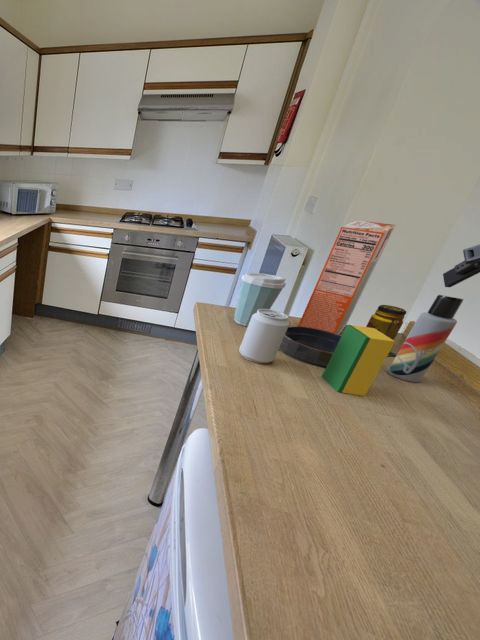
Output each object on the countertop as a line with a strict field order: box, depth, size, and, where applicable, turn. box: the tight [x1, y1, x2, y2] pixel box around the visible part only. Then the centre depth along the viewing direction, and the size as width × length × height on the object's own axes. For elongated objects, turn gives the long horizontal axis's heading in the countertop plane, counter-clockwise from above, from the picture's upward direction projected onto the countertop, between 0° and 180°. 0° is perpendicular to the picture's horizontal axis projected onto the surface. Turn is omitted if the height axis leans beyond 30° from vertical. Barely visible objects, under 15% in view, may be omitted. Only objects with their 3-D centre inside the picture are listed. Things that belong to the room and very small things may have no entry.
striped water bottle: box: [387, 294, 464, 383], centre depth 92 cm, size 6×6×20 cm
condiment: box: [365, 304, 407, 357], centre depth 106 cm, size 7×8×12 cm
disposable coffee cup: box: [233, 272, 287, 328], centre depth 119 cm, size 11×11×15 cm
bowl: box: [279, 325, 342, 368], centre depth 104 cm, size 17×17×4 cm
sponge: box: [321, 324, 396, 397], centre depth 88 cm, size 5×7×13 cm
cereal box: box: [297, 219, 397, 335], centre depth 113 cm, size 23×8×30 cm, turn 131°
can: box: [238, 308, 290, 364], centre depth 98 cm, size 8×8×12 cm
